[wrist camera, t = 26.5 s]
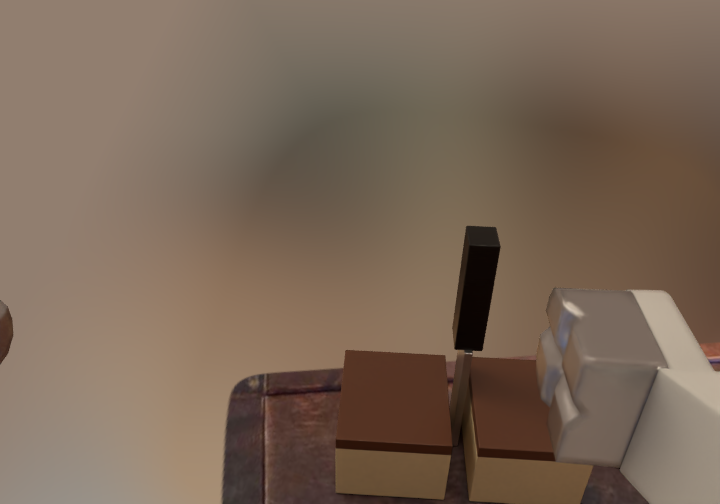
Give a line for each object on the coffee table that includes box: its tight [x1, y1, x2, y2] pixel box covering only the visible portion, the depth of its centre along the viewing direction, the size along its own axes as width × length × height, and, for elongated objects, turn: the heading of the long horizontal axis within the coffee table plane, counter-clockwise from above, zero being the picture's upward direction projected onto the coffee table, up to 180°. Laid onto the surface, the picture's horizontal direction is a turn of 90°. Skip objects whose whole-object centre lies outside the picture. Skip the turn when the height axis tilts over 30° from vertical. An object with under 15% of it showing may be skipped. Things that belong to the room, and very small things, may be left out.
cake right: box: [461, 357, 593, 504], centre depth 48 cm, size 8×9×6 cm
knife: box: [449, 226, 500, 446], centre depth 46 cm, size 2×3×19 cm, turn 177°
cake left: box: [336, 350, 452, 500], centre depth 49 cm, size 8×9×6 cm
